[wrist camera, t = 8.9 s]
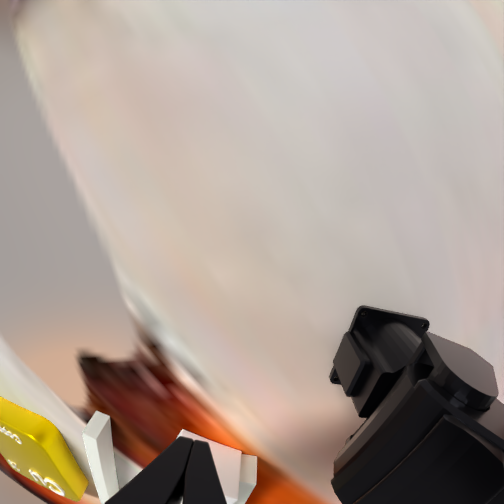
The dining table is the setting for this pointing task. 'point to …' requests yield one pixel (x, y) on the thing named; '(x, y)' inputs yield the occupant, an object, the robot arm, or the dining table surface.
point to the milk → (223, 465)
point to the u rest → (105, 471)
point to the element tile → (39, 451)
